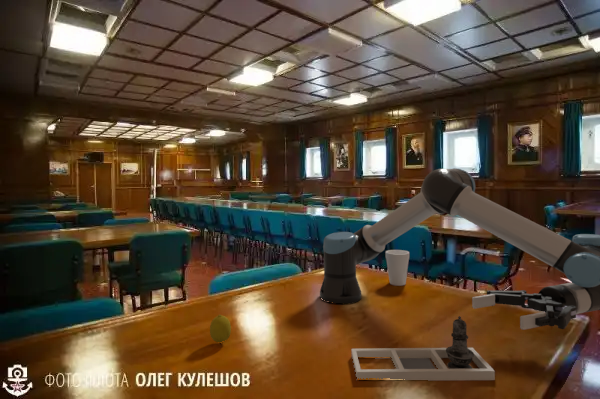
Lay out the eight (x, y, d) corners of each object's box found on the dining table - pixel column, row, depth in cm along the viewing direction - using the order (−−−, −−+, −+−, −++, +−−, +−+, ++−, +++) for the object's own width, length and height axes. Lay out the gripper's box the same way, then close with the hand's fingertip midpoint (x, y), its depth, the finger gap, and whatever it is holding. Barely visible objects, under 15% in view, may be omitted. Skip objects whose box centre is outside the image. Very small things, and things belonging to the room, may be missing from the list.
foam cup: (383, 280, 149) (382, 250, 148) (404, 279, 149) (403, 249, 149) (390, 287, 139) (390, 255, 138) (413, 286, 140) (413, 254, 139)
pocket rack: (356, 380, 76) (356, 371, 76) (351, 356, 86) (351, 348, 86) (494, 380, 75) (494, 370, 74) (472, 355, 85) (472, 347, 85)
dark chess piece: (468, 361, 83) (468, 311, 82) (478, 374, 77) (478, 321, 76) (442, 360, 83) (442, 310, 82) (450, 374, 77) (450, 321, 77)
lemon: (235, 340, 97) (234, 312, 96) (224, 349, 91) (223, 319, 91) (217, 338, 98) (216, 310, 98) (206, 347, 93) (205, 317, 93)
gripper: (620, 334, 76) (547, 352, 70) (518, 299, 100) (457, 310, 94) (620, 301, 76) (547, 315, 70) (518, 273, 100) (456, 282, 94)
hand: (495, 312), depth 82 cm, fingers open, 13 cm apart
